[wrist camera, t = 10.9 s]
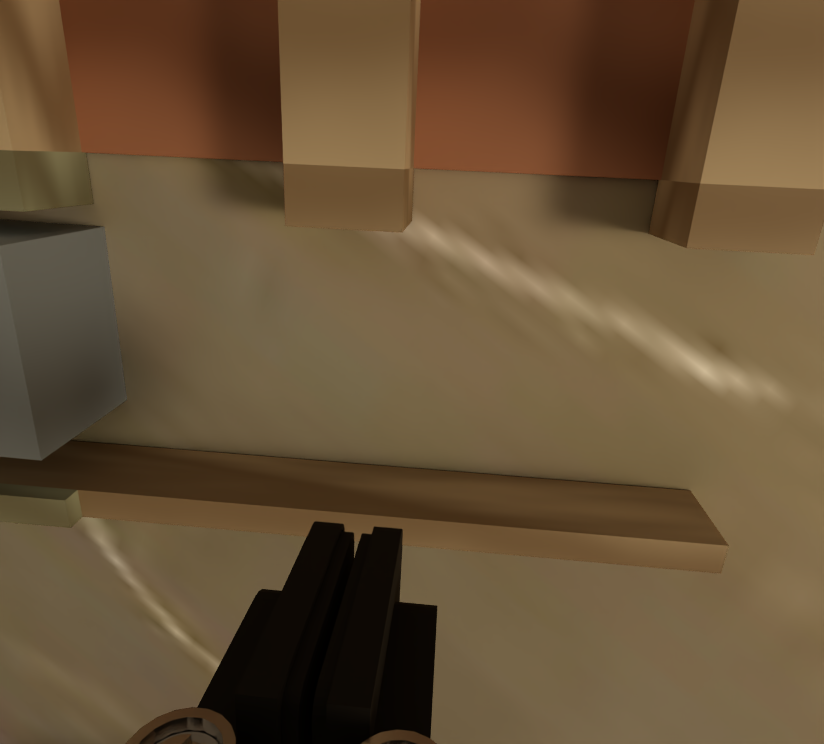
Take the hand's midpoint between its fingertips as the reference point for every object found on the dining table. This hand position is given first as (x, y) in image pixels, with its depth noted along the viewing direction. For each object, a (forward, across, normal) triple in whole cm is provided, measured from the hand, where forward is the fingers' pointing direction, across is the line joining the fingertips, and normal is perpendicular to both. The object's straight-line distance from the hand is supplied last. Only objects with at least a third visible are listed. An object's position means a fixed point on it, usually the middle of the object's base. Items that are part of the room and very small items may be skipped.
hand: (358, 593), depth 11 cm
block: (+9, +13, -3) cm, 16 cm away
